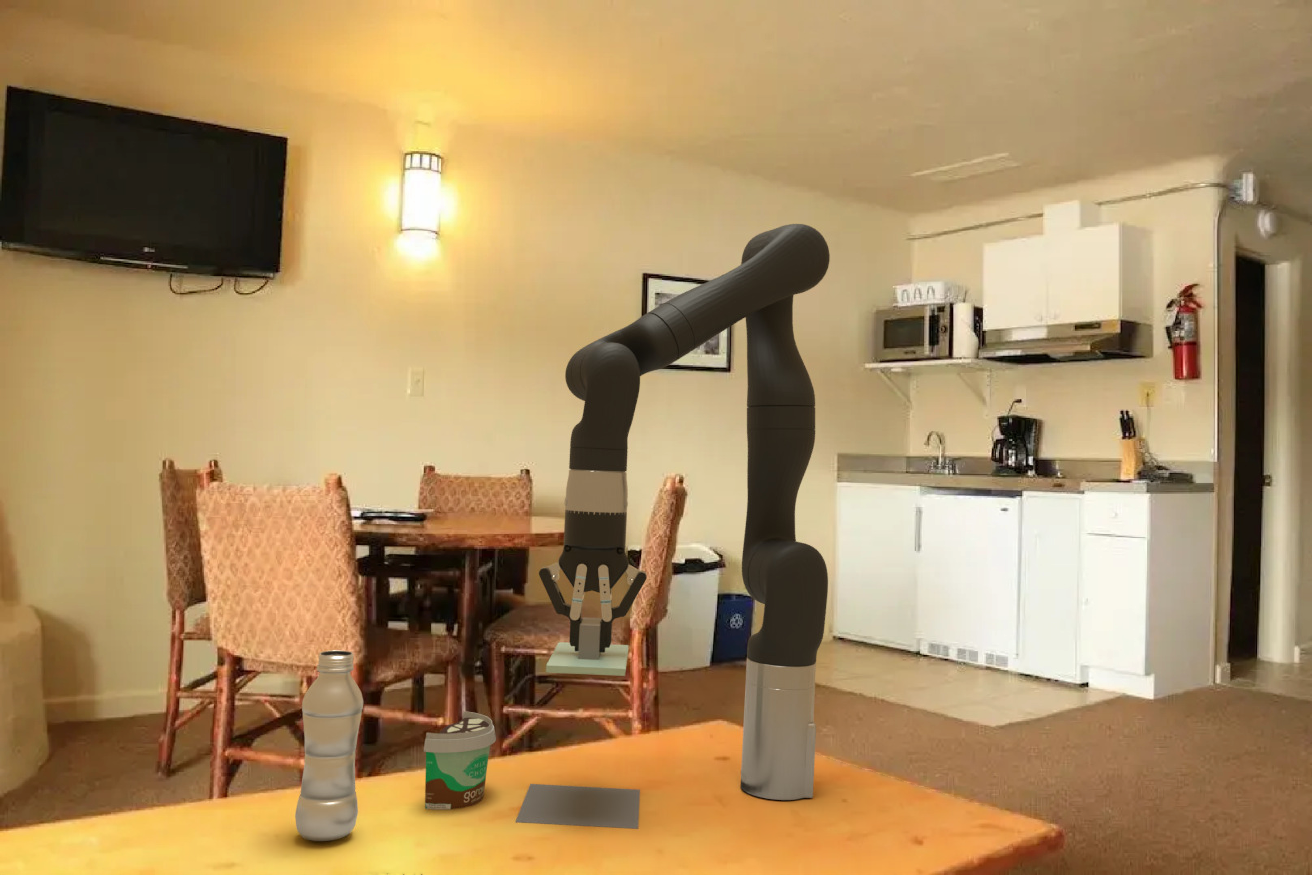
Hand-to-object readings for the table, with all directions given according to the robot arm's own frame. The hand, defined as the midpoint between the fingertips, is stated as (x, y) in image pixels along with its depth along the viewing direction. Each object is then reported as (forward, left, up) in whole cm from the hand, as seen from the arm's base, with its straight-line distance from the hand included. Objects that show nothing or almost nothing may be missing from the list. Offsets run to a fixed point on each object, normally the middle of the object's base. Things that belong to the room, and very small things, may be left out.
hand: (589, 650), depth 124 cm
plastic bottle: (+27, +12, -20) cm, 36 cm away
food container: (+14, 0, -20) cm, 24 cm away
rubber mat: (0, 0, -20) cm, 20 cm away
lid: (0, 0, -1) cm, 1 cm away
